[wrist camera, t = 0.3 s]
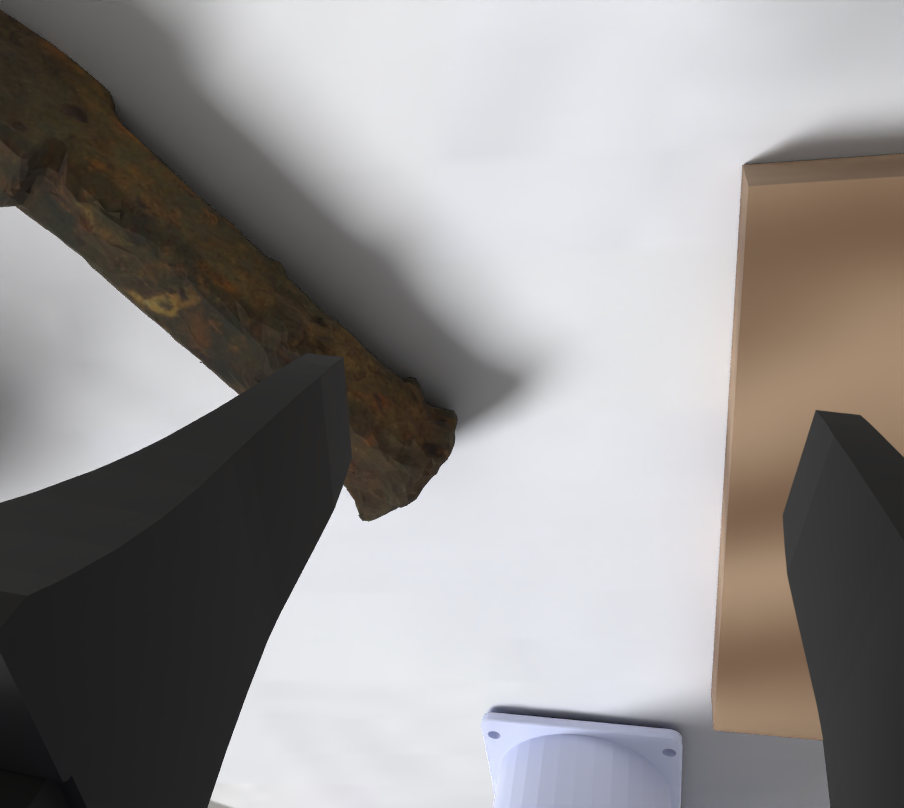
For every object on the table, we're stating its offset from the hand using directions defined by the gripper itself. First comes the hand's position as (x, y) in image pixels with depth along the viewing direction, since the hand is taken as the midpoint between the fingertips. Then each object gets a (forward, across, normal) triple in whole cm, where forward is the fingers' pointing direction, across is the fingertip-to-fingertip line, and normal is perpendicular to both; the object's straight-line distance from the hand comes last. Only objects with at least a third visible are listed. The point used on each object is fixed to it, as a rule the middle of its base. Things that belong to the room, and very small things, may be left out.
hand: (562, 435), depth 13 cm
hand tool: (+10, +12, +2) cm, 16 cm away
